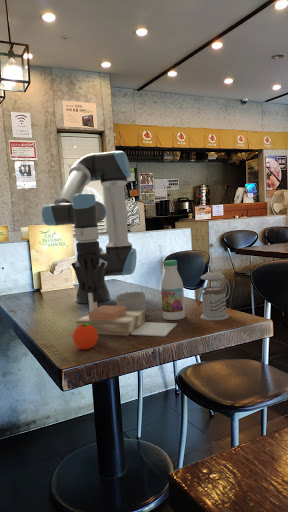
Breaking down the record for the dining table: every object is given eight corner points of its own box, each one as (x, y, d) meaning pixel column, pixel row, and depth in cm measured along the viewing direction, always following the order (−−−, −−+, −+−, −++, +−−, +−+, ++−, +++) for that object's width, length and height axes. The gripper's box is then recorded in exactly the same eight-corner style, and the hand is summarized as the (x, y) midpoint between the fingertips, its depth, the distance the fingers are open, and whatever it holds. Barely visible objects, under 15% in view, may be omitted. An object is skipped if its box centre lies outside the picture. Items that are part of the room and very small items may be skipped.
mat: (145, 323, 124) (145, 322, 124) (177, 324, 120) (176, 323, 120) (131, 334, 113) (130, 333, 113) (165, 336, 109) (164, 335, 109)
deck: (98, 320, 132) (97, 309, 132) (145, 322, 125) (144, 310, 125) (77, 332, 119) (76, 320, 119) (128, 335, 112) (127, 322, 112)
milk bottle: (167, 314, 134) (163, 259, 132) (188, 315, 131) (184, 258, 129) (159, 320, 127) (155, 262, 125) (181, 321, 124) (177, 261, 122)
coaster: (102, 311, 128) (102, 305, 128) (126, 312, 125) (125, 306, 124) (89, 318, 120) (88, 312, 120) (113, 319, 116) (113, 313, 116)
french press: (194, 316, 128) (189, 244, 126) (219, 310, 134) (216, 241, 132) (213, 322, 120) (208, 245, 117) (239, 315, 126) (235, 241, 123)
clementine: (89, 341, 109) (87, 318, 109) (106, 345, 105) (104, 320, 104) (68, 350, 103) (66, 325, 102) (86, 354, 99) (83, 328, 98)
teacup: (148, 318, 130) (146, 296, 130) (117, 321, 130) (115, 298, 129) (145, 309, 144) (143, 288, 143) (117, 311, 144) (115, 291, 143)
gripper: (64, 243, 121) (71, 313, 123) (99, 241, 116) (105, 314, 118) (76, 241, 128) (83, 308, 130) (110, 239, 123) (116, 309, 125)
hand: (93, 311), depth 124 cm, fingers closed
